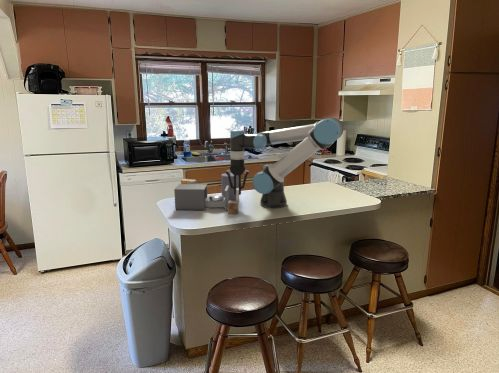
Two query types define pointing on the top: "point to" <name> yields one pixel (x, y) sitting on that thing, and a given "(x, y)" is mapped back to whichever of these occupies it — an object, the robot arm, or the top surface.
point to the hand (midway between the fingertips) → (237, 200)
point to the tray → (218, 203)
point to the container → (226, 183)
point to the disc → (216, 198)
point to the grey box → (190, 197)
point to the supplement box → (188, 181)
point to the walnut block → (233, 207)
